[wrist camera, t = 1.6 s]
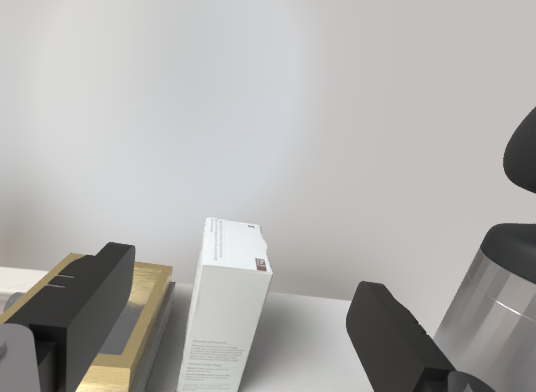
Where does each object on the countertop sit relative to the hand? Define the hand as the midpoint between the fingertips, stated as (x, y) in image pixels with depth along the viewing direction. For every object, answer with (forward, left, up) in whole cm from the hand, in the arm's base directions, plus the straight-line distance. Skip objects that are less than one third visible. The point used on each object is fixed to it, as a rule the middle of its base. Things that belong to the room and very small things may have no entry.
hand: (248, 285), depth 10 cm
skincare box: (0, -14, -20) cm, 25 cm away
